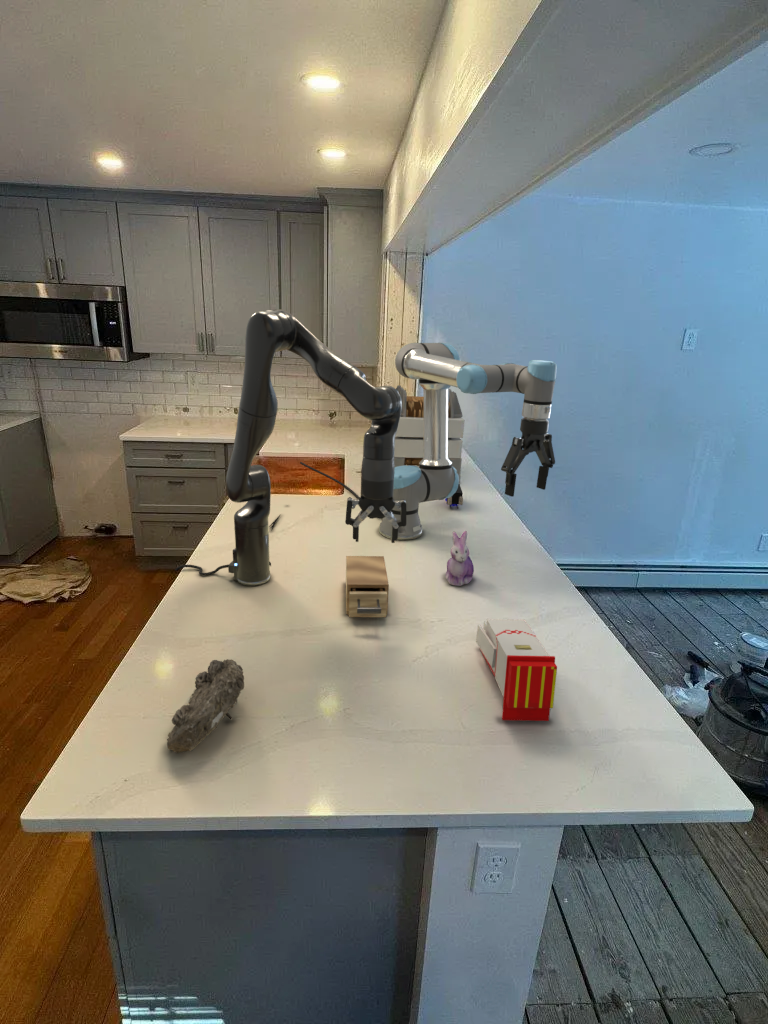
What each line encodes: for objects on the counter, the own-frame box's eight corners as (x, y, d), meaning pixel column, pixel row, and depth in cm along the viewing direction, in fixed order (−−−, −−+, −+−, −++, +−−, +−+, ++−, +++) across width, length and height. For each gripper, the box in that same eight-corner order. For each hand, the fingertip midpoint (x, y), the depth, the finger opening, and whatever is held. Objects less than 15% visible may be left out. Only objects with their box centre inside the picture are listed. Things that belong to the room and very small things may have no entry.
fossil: (192, 660, 117) (244, 628, 112) (224, 691, 120) (276, 661, 115) (142, 746, 98) (202, 712, 93) (182, 779, 101) (242, 748, 96)
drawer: (387, 629, 138) (389, 605, 136) (349, 629, 138) (349, 605, 135) (381, 587, 159) (382, 565, 157) (348, 587, 158) (348, 565, 156)
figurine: (455, 589, 161) (460, 541, 156) (436, 574, 170) (440, 528, 165) (482, 583, 166) (487, 536, 160) (462, 569, 174) (466, 524, 169)
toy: (523, 604, 135) (566, 662, 106) (518, 656, 138) (559, 727, 109) (472, 603, 135) (501, 661, 105) (468, 655, 138) (496, 726, 108)
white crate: (382, 463, 289) (386, 382, 275) (445, 464, 293) (451, 384, 279) (390, 482, 257) (394, 392, 243) (460, 483, 261) (468, 394, 247)
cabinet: (387, 614, 147) (388, 584, 144) (346, 614, 146) (347, 584, 143) (382, 583, 163) (383, 556, 160) (345, 583, 162) (346, 555, 159)
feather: (288, 508, 223) (290, 504, 222) (270, 532, 196) (273, 528, 196) (284, 506, 223) (286, 502, 222) (266, 530, 196) (268, 525, 195)
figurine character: (463, 514, 226) (458, 498, 239) (465, 496, 223) (460, 481, 236) (446, 513, 226) (442, 497, 239) (448, 496, 222) (444, 481, 236)
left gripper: (345, 479, 125) (344, 546, 131) (410, 481, 126) (406, 548, 131) (346, 470, 132) (345, 534, 138) (407, 472, 133) (403, 536, 138)
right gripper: (514, 424, 146) (505, 502, 154) (574, 417, 160) (563, 489, 168) (493, 419, 152) (485, 494, 159) (553, 413, 166) (543, 482, 173)
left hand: (375, 541), depth 135 cm, fingers open, 8 cm apart
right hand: (525, 491), depth 164 cm, fingers open, 13 cm apart
